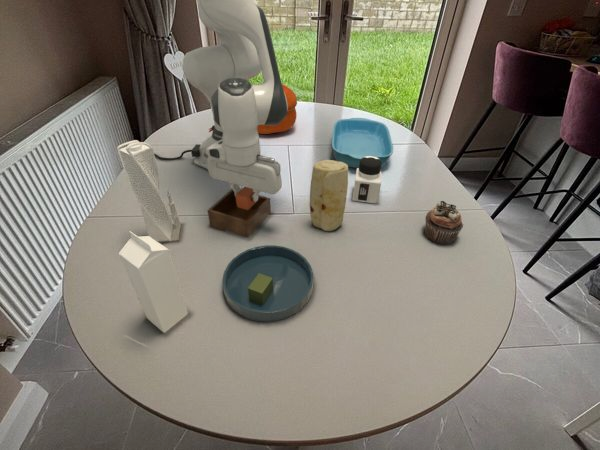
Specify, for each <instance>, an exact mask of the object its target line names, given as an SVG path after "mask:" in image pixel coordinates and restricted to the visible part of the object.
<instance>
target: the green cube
mask: <svg viewBox="0 0 600 450" xmlns="http://www.w3.org/2000/svg"><path fill="white" fill-rule="evenodd" d="M272 291H273V278H271V277H269V276H266V275H263V274H260V273H259V274H258V275H257V276H256V278H255V279H254V280H253V282H252V283H251V284H250V286H249V287H248V294H249V300H250V301H253V302H255V303H258V304H260V305H264V303H265V302H266V300H267V299H268V297H269V296H270V294H271V293H272Z"/></svg>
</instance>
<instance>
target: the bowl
mask: <svg viewBox="0 0 600 450" xmlns="http://www.w3.org/2000/svg"><path fill="white" fill-rule="evenodd" d="M259 273H260V274H263V275H266V276H269V277H271V278H273V291H272V293H271V294H270V296H269V297H268V299H267V300H266V302H265V303H264V305H260V304H258V303H255V302H253V301H250V300H249V294H248V287H249V286H250V284H251V283H252V282H253V280H254V279H255V278H256V276H257V275H258V274H259ZM314 278H315V277H314V270H313V268H312V265H311V264H310V262H309V261H308V259H307V258H306V257H305V256H303V255H302V254H301V253H300V252H298V251H296V250H295V249H292V248H289V247H287V246H281V245H268V244H267V245H266V244H265V245H260V246H259V245H258V246H254V247H252V248H249V249H246V250H244V251H242V252H240V253H239V254H237V255H236V256H234V257H233V258H232V260H231V261H230V262H229V263H228V264H227V266H226V267H225V269H224V271H223V275H222V280H221V281H222V289H223V294H224V298H225V300H226V302H227V304H228V305H229V307H230V308H231V309H232V310H233V311H234V312H235V313H237V314H238V315H240V316H241V317H244V318H245V319H248V320H252V321H256V322H265V323H266V322H276V321H280V320H285V319H287V318H290V317H292V316H294V315H295V314H297V313H298V312H300V311H301V310H302V309H303V308H304V307H305V306H306V304H308V302H309V301H310V299H311V296H312V294H313V289H314Z"/></svg>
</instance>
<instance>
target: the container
mask: <svg viewBox="0 0 600 450" xmlns="http://www.w3.org/2000/svg"><path fill="white" fill-rule="evenodd" d="M381 166H382V162H381V160H380V159H379V158H376V157H373V156H366V157H363V158H362V159H360V164H359V168H356V171H355V178H354V186H353V191H352V199H351V200H352V201H354V202H361V203H369V204H378V202H379V201H378V200H379V197H380V191H381V190H380V189H381V185H382V167H383V166H382V167H381Z"/></svg>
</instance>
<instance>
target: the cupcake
mask: <svg viewBox="0 0 600 450" xmlns="http://www.w3.org/2000/svg"><path fill="white" fill-rule="evenodd" d="M462 219H463V218H462V215H461V213H460V211H459V209H458V208H457V206H456V205H455V204H451V203H450V204H449V203H447V202H446V201H445V200H440V201H437V202H436V204H435V206H434V207H432V209H430V210H429V211H428V212H427V213H426V215H425V229H424V234H425V236H426V238H427V239H429V240H430V241H432V242H433V243H437V244H440V245H448V244H451V243H452V242H454V241H455V240H456V238H457V236H458V235H459V234H460V233H461V231H462V229H463V228H464V222H463V220H462Z"/></svg>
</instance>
